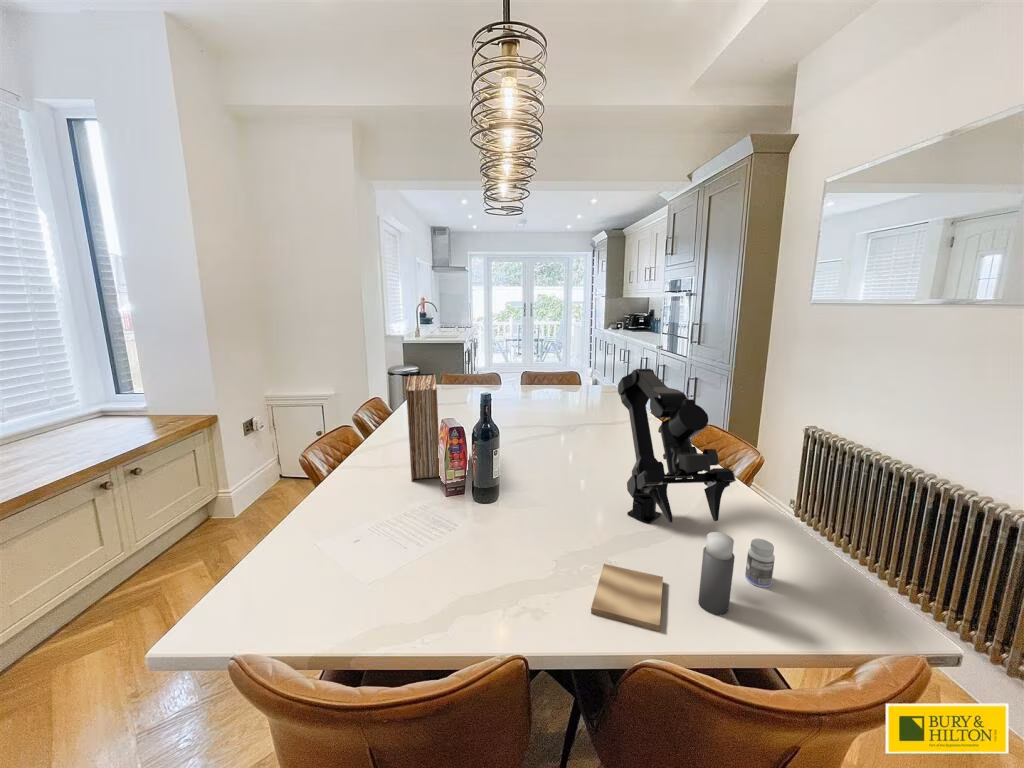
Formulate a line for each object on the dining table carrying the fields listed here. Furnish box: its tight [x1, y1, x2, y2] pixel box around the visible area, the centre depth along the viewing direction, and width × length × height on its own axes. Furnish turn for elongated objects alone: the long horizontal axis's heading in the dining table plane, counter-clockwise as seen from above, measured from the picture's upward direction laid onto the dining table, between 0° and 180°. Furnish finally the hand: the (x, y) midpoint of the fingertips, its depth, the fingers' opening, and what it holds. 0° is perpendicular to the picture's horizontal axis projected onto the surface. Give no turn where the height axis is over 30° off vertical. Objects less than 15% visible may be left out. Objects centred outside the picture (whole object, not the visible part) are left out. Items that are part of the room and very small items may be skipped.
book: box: [405, 373, 440, 482], centre depth 145 cm, size 25×9×30 cm, turn 11°
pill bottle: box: [744, 538, 776, 588], centre depth 87 cm, size 5×5×8 cm
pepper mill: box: [697, 531, 736, 616], centre depth 79 cm, size 5×5×14 cm
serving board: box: [590, 563, 664, 632], centre depth 83 cm, size 14×12×1 cm
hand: (693, 521), depth 85 cm, fingers open, 9 cm apart
